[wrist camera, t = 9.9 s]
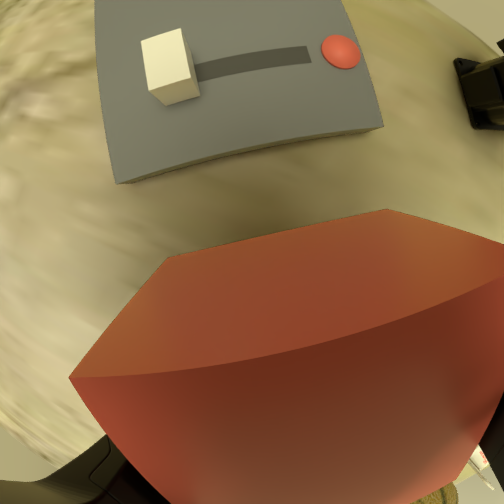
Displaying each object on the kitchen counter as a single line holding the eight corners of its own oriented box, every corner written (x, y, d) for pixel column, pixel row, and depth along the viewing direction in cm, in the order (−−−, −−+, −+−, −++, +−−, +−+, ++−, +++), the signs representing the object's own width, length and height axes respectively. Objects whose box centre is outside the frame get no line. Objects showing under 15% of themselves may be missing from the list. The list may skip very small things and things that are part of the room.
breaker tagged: (191, 52, 13) (180, 28, 10) (200, 95, 14) (190, 77, 11) (157, 62, 13) (141, 41, 10) (165, 105, 14) (148, 90, 11)
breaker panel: (290, -63, 12) (295, -81, 9) (367, 131, 17) (386, 125, 14) (107, -24, 12) (95, -39, 10) (131, 183, 17) (113, 184, 15)
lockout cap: (386, 208, 9) (536, 256, 3) (391, 377, 10) (455, 479, 5) (167, 257, 9) (68, 377, 3) (226, 418, 11) (222, 543, 5)
